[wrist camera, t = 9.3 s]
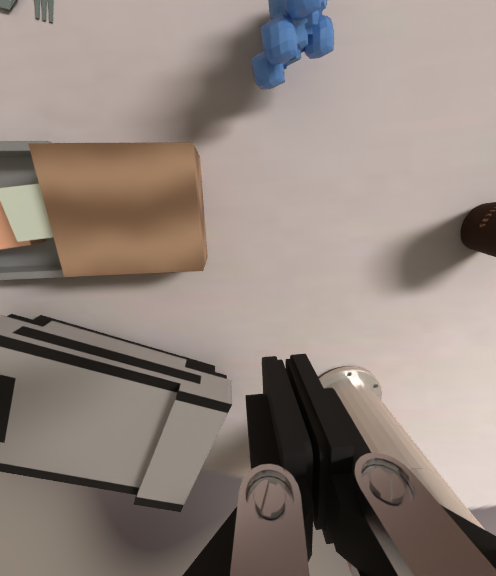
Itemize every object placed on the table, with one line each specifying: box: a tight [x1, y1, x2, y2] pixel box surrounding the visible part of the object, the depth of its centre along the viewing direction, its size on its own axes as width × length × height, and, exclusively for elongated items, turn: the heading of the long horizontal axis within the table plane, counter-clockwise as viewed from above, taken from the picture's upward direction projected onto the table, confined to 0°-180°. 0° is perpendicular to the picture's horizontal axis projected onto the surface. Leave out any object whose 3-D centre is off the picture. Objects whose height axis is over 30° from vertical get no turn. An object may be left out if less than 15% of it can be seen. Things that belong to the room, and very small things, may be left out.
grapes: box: [252, 0, 334, 90], centre depth 22 cm, size 12×7×12 cm, turn 152°
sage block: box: [0, 184, 53, 242], centre depth 27 cm, size 5×5×4 cm
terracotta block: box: [0, 201, 46, 249], centre depth 28 cm, size 5×5×2 cm
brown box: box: [28, 142, 207, 277], centre depth 27 cm, size 12×14×7 cm
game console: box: [0, 314, 232, 512], centre depth 35 cm, size 21×32×8 cm, turn 67°
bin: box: [0, 141, 79, 280], centre depth 28 cm, size 14×12×4 cm
